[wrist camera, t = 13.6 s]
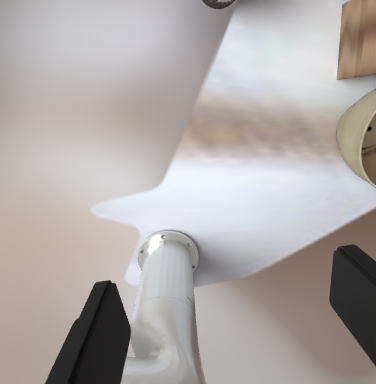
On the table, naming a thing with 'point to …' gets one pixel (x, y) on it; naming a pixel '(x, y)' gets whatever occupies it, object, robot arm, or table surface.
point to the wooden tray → (357, 39)
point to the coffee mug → (218, 3)
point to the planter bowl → (360, 138)
